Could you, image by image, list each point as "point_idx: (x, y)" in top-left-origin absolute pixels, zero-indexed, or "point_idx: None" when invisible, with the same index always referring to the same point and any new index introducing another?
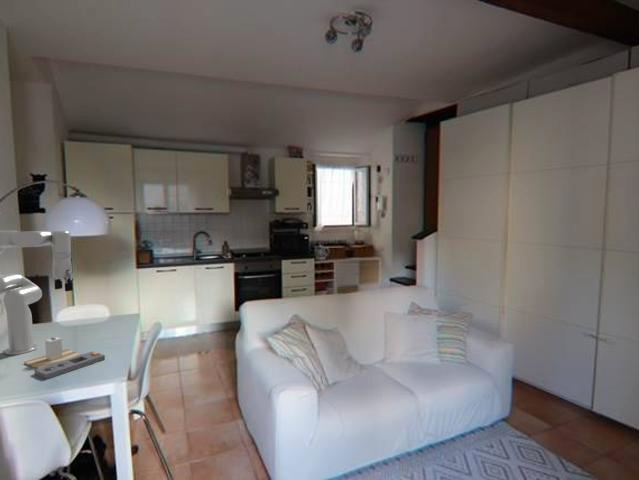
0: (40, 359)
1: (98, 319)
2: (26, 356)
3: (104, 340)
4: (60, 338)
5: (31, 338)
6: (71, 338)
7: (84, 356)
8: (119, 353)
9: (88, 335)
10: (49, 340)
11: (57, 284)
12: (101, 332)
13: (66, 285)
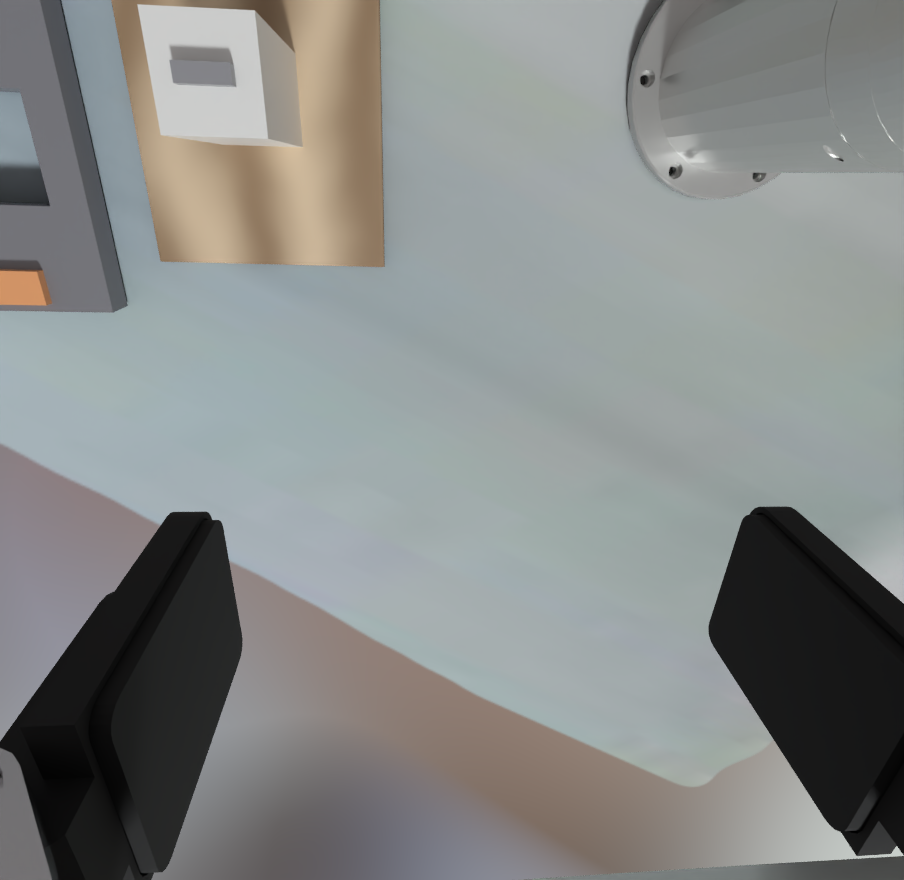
0: (318, 16)
1: None
2: (552, 29)
3: (389, 498)
4: (173, 132)
5: (705, 134)
6: (630, 417)
7: (29, 216)
8: (36, 417)
9: (582, 499)
10: (190, 24)
11: (817, 643)
12: (560, 563)
13: (88, 672)
